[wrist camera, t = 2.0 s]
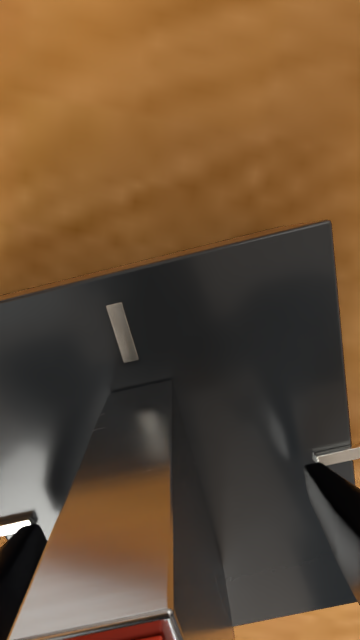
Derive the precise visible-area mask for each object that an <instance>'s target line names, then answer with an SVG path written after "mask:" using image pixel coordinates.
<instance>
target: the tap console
mask: <svg viewBox="0 0 360 640" xmlns="http://www.w3.org/2000/svg"><path fill="white" fill-rule="evenodd" d="M167 380H172V382H173V385H174V389H175V392H176V396H177V400H178V403H179V407H180V411H181V414H182V418H183V422H184V425H185V429H186V433H187V436H188V440H189V444H190V447H191V451H192V455H193V458H194V462H195V466H196V469H197V473H198V477H199V481H200V484H201V488H202V492H203V495H204V499H205V503H206V506H207V510H208V514H209V517H210V521H211V525H212V528H213V532H214V536H215V539H216V543H217V547H218V550H219V554H220V558H221V562H222V565H223V569H224V574H225V580H226V587H227V593H228V599H229V605H230V612H231V618H232V624H233V627H234V626H239V625H244V624H249V623H254V622H259V621H264V620H269V619H274V618H279V617H284V616H289V615H294V614H299V613H304V612H309V611H314V610H319V609H324V608H329V607H334V606H339V605H344V604H349V603H354V602H358V601H357V599H356V598H355V596H354V594H353V592H352V590H351V589H350V587H349V585H348V583H347V581H346V579H345V577H344V575H343V573H342V571H341V569H340V567H339V565H338V563H337V561H336V558H335V556H334V554H333V552H332V549H331V547H330V545H329V543H328V540H327V538H326V536H325V534H324V531H323V529H322V527H321V525H320V522H319V520H318V518H317V516H316V513H315V511H314V509H313V507H312V504H311V502H310V500H309V497H308V494H307V489H306V483H305V476H304V466H305V465H307V464H311V463H316V462H320V463H322V464H324V465H325V466H327V467H328V468H330V469H331V470H333V471H334V472H336V473H337V474H339V475H340V476H342V477H343V478H345V479H346V480H347V481H349V482H350V483H352V484H353V485H355V477H354V466H353V460H355V459H360V443H357V444H351V432H350V421H349V410H348V399H347V388H346V377H345V366H344V355H343V344H342V333H341V322H340V311H339V300H338V289H337V278H336V267H335V256H334V245H333V234H332V223H331V221H330V220H321V221H315V222H308V223H302V224H295V225H288V226H282V227H277V228H273V229H269V230H264V231H260V232H256V233H252V234H248V235H244V236H240V237H236V238H232V239H228V240H224V241H220V242H216V243H212V244H208V245H204V246H200V247H196V248H191V249H187V250H183V251H179V252H175V253H171V254H167V255H163V256H159V257H155V258H151V259H147V260H143V261H139V262H135V263H131V264H127V265H123V266H119V267H114V268H110V269H106V270H102V271H98V272H94V273H90V274H86V275H82V276H78V277H74V278H70V279H66V280H62V281H58V282H54V283H50V284H46V285H42V286H37V287H33V288H29V289H25V290H21V291H17V292H13V293H9V294H5V295H1V296H0V536H5V537H6V539H7V540H9V539H10V538H11V537H12V536H13V535H14V534H15V533H16V532H17V531H18V530H19V529H20V528H21V527H23V526H27V525H31V524H38V525H40V527H41V529H42V531H43V533H44V535H45V537H46V539H47V541H48V539H49V537H50V534H51V532H52V529H53V527H54V525H55V522H56V520H57V517H58V515H59V513H60V510H61V508H62V505H63V503H64V501H65V498H66V496H67V493H68V491H69V489H70V486H71V484H72V481H73V479H74V477H75V474H76V472H77V469H78V467H79V465H80V462H81V460H82V457H83V455H84V452H85V450H86V448H87V445H88V443H89V440H90V438H91V436H92V433H93V431H94V428H95V426H96V424H97V421H98V419H99V416H100V414H101V412H102V409H103V407H104V404H105V402H106V400H107V397H108V395H109V394H111V393H115V392H120V391H124V390H128V389H133V388H137V387H141V386H146V385H150V384H154V383H159V382H163V381H167Z"/></svg>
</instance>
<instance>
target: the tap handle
mask: <svg viewBox="0 0 360 640" xmlns="http://www.w3.org/2000/svg"><path fill="white" fill-rule="evenodd" d="M7 640H235V637H234V630H233V624H232V618H231V612H230V605H229V599H228V593H227V587H226V580H225V574H224V569H223V565H222V562H221V558H220V554H219V550H218V547H217V543H216V539H215V536H214V532H213V528H212V525H211V521H210V517H209V514H208V510H207V506H206V503H205V499H204V495H203V492H202V488H201V484H200V481H199V477H198V473H197V469H196V466H195V462H194V458H193V455H192V451H191V447H190V444H189V440H188V436H187V433H186V429H185V425H184V422H183V418H182V414H181V411H180V407H179V403H178V400H177V396H176V392H175V389H174V385H173V382H172V380H167V381H163V382H159V383H154V384H150V385H146V386H141V387H137V388H133V389H128V390H124V391H120V392H115V393H111V394H109V395H108V397H107V400H106V402H105V404H104V407H103V409H102V412H101V414H100V416H99V419H98V421H97V424H96V426H95V428H94V431H93V433H92V436H91V438H90V440H89V443H88V445H87V448H86V450H85V452H84V455H83V457H82V460H81V462H80V465H79V467H78V469H77V472H76V474H75V477H74V479H73V481H72V484H71V486H70V489H69V491H68V493H67V496H66V498H65V501H64V503H63V505H62V508H61V510H60V513H59V515H58V517H57V520H56V522H55V525H54V527H53V529H52V532H51V534H50V537H49V539H48V542H47V544H46V546H45V549H44V551H43V554H42V556H41V558H40V561H39V563H38V566H37V568H36V570H35V573H34V575H33V578H32V580H31V582H30V585H29V587H28V590H27V592H26V594H25V597H24V599H23V602H22V604H21V607H20V609H19V611H18V614H17V616H16V619H15V621H14V623H13V626H12V628H11V631H10V633H9V635H8V638H7Z"/></svg>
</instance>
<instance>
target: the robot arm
mask: <svg viewBox="0 0 360 640" xmlns="http://www.w3.org/2000/svg"><path fill="white" fill-rule="evenodd" d="M304 476H305V483H306V489H307V494H308V497H309V500H310V502H311V504H312V507H313V509H314V511H315V513H316V516H317V518H318V520H319V522H320V525H321V527H322V529H323V531H324V534H325V536H326V538H327V540H328V543H329V545H330V547H331V549H332V552H333V554H334V556H335V558H336V561H337V563H338V565H339V567H340V569H341V571H342V573H343V575H344V577H345V579H346V581H347V583H348V585H349V587H350V589H351V590H352V592H353V594H354V596H355V598H356V599H357V601H358V603H359V605H360V489H359V488H358V487H356V486H355V485H353V484H352V483H350V482H349V481H347V480H346V479H345V478H343V477H342V476H340V475H339V474H337V473H336V472H334V471H333V470H331V469H330V468H328V467H327V466H325V465H324V464H322V463H320V462H316V463H311V464H307V465H305V466H304ZM47 542H48V541H47V539H46V537H45V535H44V533H43V531H42V529H41V527H40V525H38V524H31V525H27V526H23V527H21V528H20V529H19V530H18V531H17V532H16V533H15V534H14V535H13V536H12V537H11V538H10V539H9V540H8V541H7V542H6V543H5V544H4V545H3V546H2V547H1V548H0V640H7V638H8V635H9V633H10V631H11V628H12V626H13V623H14V621H15V619H16V616H17V614H18V611H19V609H20V607H21V604H22V602H23V599H24V597H25V594H26V592H27V590H28V587H29V585H30V582H31V580H32V578H33V575H34V573H35V570H36V568H37V566H38V563H39V561H40V558H41V556H42V554H43V551H44V549H45V546H46V544H47Z"/></svg>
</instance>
